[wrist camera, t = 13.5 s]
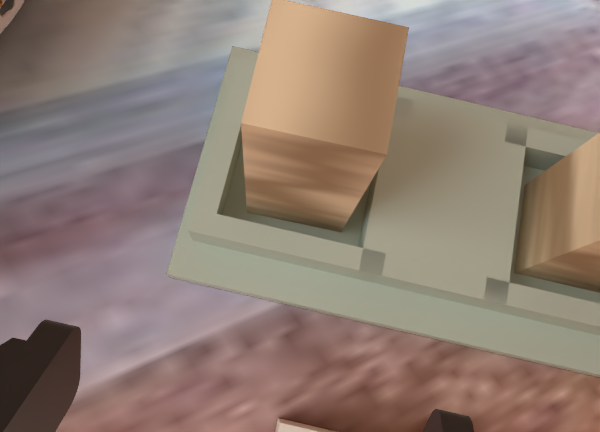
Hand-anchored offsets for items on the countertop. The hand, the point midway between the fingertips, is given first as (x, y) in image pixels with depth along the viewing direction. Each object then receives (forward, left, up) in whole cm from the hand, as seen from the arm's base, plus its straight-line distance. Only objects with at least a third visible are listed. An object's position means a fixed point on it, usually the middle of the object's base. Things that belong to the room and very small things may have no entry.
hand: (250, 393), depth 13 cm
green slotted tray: (+5, +11, -13) cm, 18 cm away
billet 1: (-2, +10, -12) cm, 16 cm away
